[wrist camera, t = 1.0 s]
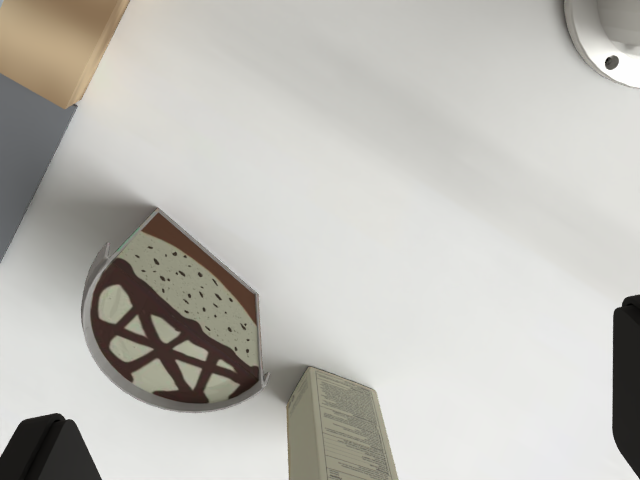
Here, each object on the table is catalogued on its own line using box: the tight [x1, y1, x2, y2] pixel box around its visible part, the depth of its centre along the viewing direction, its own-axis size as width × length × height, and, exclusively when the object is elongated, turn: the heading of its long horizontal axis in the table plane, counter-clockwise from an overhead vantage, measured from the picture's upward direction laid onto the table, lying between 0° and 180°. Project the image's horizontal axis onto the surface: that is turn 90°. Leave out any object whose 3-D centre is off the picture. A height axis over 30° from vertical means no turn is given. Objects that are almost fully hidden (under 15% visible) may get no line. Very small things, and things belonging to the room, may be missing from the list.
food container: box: [81, 208, 270, 413], centre depth 38 cm, size 12×6×10 cm, turn 43°
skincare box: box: [286, 367, 398, 480], centre depth 42 cm, size 6×4×12 cm
